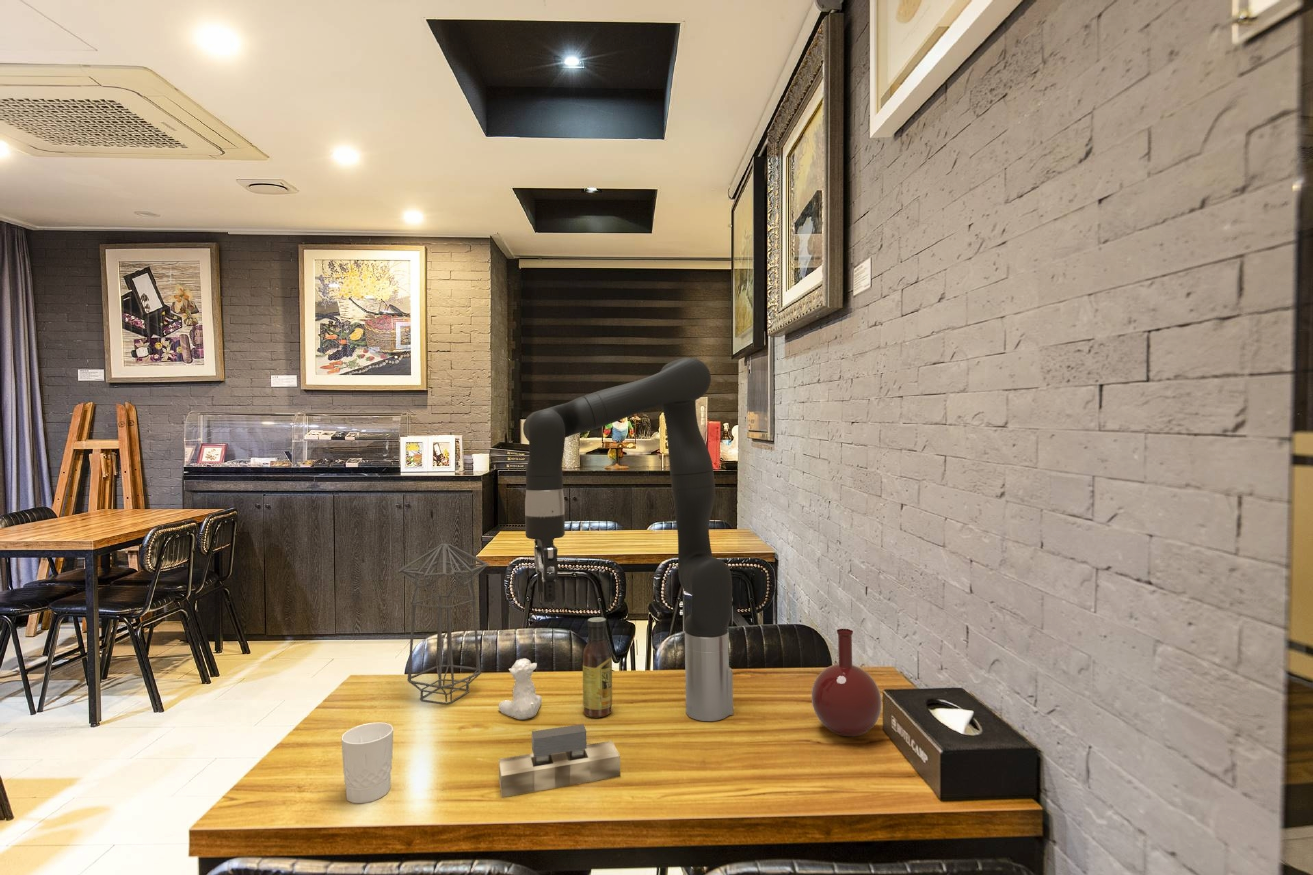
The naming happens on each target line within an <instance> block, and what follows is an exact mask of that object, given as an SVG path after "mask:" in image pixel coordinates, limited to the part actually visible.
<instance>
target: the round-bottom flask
mask: <svg viewBox="0 0 1313 875" xmlns="http://www.w3.org/2000/svg"><path fill="white" fill-rule="evenodd" d="M836 634H837V640H838V642H837V647H838V648H837V651H838V652H837V653H838V657H837V658H838V663H836V664H832V665H830V666H828V667H826V668H824V669H823V670H822V671H820V673H819V674H818V675H817V677H816V678H815V680H814V683H813V685H812V690H811V703H812V708H813V710H814V713H815V715H816V717H817V718H818V720H819V721H820V723H821V724H822V725H823V726H824V727H825V728H826V729H827V730H830V732H833V733H834V734H837V735H839V736H843V737H857V736H862V735H863V734H866V733H868V732H869V731H870V730H871V729H872V728H874V726H875V725H876V724H877V722H878V720H879V718H880V716H881V711H882V708H883V707H882V706H883V705H882V704H883V703H882V694H881V692H880V689H879V686H878V685H877V683H876V681H875V679H874V678H873V677H872V676H871V675H870V674H869V673H867V671H866V670H865V669H862V668H861V667H859V666H857V665H854V664H853V638H852V637H853V634H854V631H853V630H852V629H850V628H849V629H848V628H838V629H836Z"/></svg>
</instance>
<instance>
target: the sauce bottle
mask: <svg viewBox="0 0 1313 875" xmlns="http://www.w3.org/2000/svg"><path fill="white" fill-rule="evenodd" d="M606 627H607V618H605V617H602V616H599V617H598V616H597V617H596V616H594V617H590V618H588V619H587V628H588V637H587V639H588V641H587V643H586V645H585V646H584V649H583V653H582V655H583V656H582V658H583V659H582V661H583V662H582V705H583V713H584V715H585V716H587V717H589V718H595V719H596V718H597V719H599V718H602V717H606V716H608V715H610V714H611V713H612V706H613V656H612V652H611V650H610V647H609V644H608V640H607V635H606V634H607V633H606V631H607V629H606Z"/></svg>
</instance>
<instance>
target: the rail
mask: <svg viewBox="0 0 1313 875" xmlns="http://www.w3.org/2000/svg"><path fill="white" fill-rule="evenodd" d="M548 760H549V764H547V765H541V766H535V757H534V755H533V753H527V754H522V755H521V754H520V755H515V756H507V757H502V758H499V759H498V781H499V782H498V783H499V789H500V795H501V796H500V797H501V798H506V797H512V796H518V795H523V794H528V793H535V792H540V791H546V790H552V789H557V788H562V787H563V788H565V787H568V786H569V787H570V786H574V785H575V786H576V785H579V784H586V783H591V782H596V781H603V780H607V779H613V778H618V777H621V755H620V753H619V751H618V750H617V748H616V746H615V744H614V742H613V740H609V741H608V740H607V741H602V742H598V743H597V742H596V743H589V744H587V749H583V759H577V760H571V761H570V751H568V752H562V753H555V754H549V755H548Z"/></svg>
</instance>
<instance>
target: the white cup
mask: <svg viewBox="0 0 1313 875" xmlns="http://www.w3.org/2000/svg"><path fill="white" fill-rule="evenodd" d="M393 748H394V727H393V725H392V724H390V723H389V722H388V723H386V722H369V723H364V724H360V725H357V726H354V727H352V728H350V729H348V730H346V731H344V733H343V734H342V735H341V751H342V752H341V753H342V754H341V755H342V765H343V766H342V768H343V770H342V771H343V779H344V781H343V782H344V784H345V796H346V800H347V801H349V802H350V803H352V804H365V803H371V802H375V801H376V800H379V799H381V798H383V797H384V796H386V795H387V794H388V793H389V791H390V789H391V785H392V784H391V781H392V780H391V779H392V778H391V777H392V774H391V773H392V769H393V767H392V766H393Z"/></svg>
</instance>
